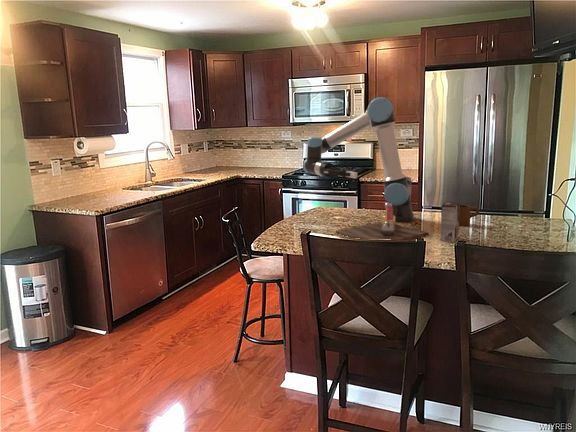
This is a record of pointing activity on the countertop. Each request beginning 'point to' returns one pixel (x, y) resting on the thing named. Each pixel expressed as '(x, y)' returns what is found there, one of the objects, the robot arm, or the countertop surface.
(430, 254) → the countertop surface
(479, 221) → the countertop surface
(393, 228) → the valve pipe
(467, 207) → the mug
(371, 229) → the valve board
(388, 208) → the valve lever
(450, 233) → the coffee box
